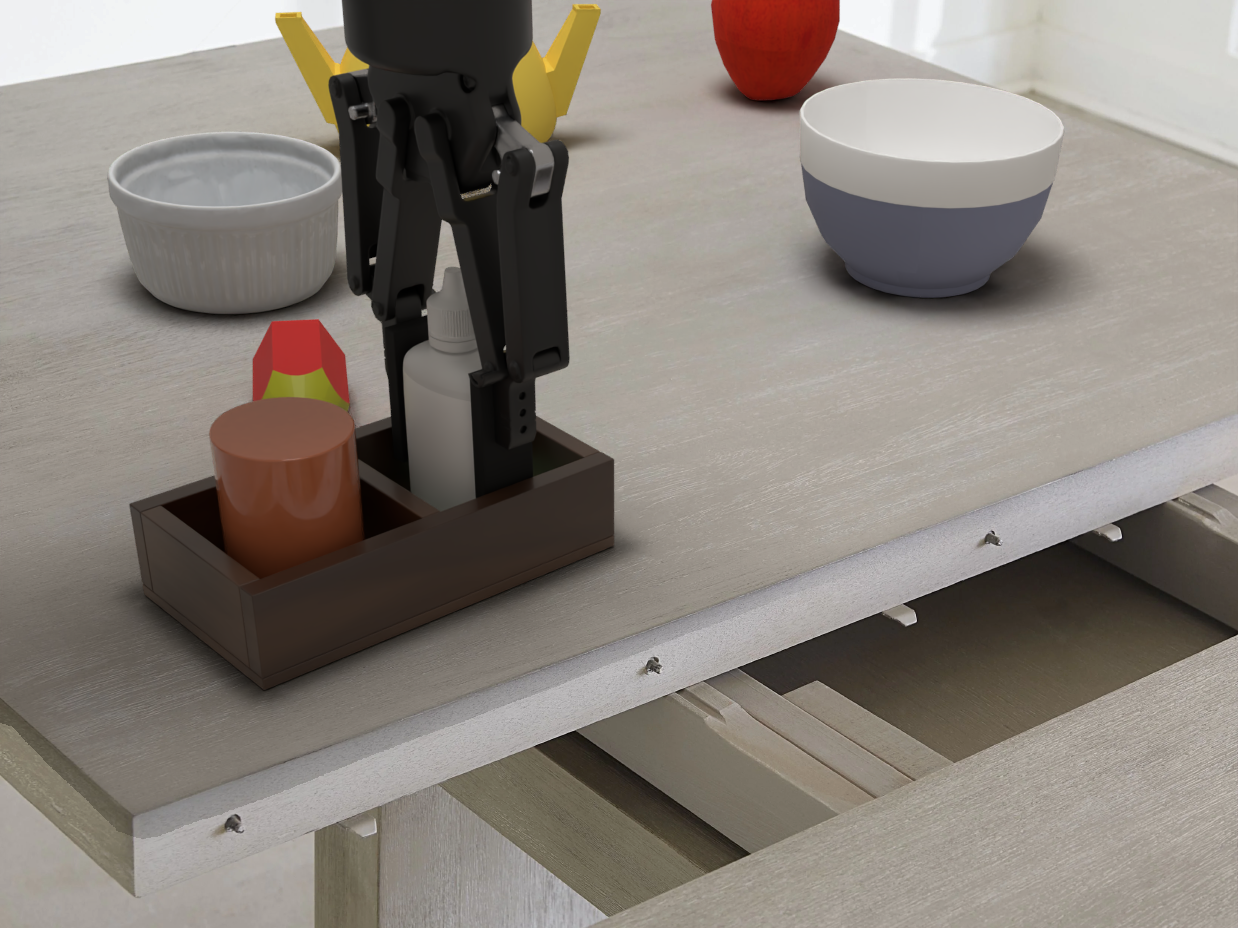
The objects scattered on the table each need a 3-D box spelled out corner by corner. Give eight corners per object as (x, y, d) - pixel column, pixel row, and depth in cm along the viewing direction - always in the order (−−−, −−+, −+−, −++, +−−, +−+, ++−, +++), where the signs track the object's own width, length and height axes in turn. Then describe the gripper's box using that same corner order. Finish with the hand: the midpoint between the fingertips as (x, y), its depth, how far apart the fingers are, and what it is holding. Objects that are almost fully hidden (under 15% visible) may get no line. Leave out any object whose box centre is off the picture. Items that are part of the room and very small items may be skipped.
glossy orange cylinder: (204, 585, 85) (181, 422, 80) (320, 543, 88) (304, 383, 84) (278, 642, 81) (258, 474, 77) (395, 595, 85) (383, 432, 80)
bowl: (872, 337, 111) (885, 176, 106) (746, 243, 123) (752, 93, 117) (1095, 297, 118) (1118, 142, 112) (955, 211, 129) (971, 67, 123)
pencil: (257, 502, 92) (248, 424, 90) (256, 395, 102) (248, 322, 99) (358, 496, 93) (351, 419, 91) (348, 390, 103) (341, 317, 100)
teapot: (432, 96, 145) (422, -71, 138) (614, 141, 138) (613, -32, 131) (278, 155, 133) (259, -25, 126) (469, 207, 126) (460, 21, 119)
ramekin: (388, 259, 118) (381, 147, 114) (283, 340, 108) (270, 221, 104) (198, 227, 121) (184, 118, 117) (78, 303, 111) (58, 186, 107)
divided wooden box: (143, 594, 85) (128, 503, 82) (486, 468, 96) (483, 384, 93) (264, 690, 79) (252, 596, 77) (614, 545, 90) (614, 458, 88)
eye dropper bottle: (434, 549, 87) (418, 299, 80) (406, 492, 91) (388, 251, 84) (527, 535, 88) (519, 288, 81) (495, 479, 92) (485, 241, 86)
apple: (802, 125, 143) (812, -46, 136) (684, 103, 146) (688, -66, 139) (854, 91, 150) (866, -73, 143) (741, 70, 153) (747, -91, 146)
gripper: (663, -12, 72) (656, 527, 85) (378, -106, 83) (412, 386, 96) (503, 19, 68) (523, 583, 81) (225, -84, 78) (282, 428, 92)
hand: (462, 475), depth 88 cm, fingers closed on eye dropper bottle, 6 cm apart
